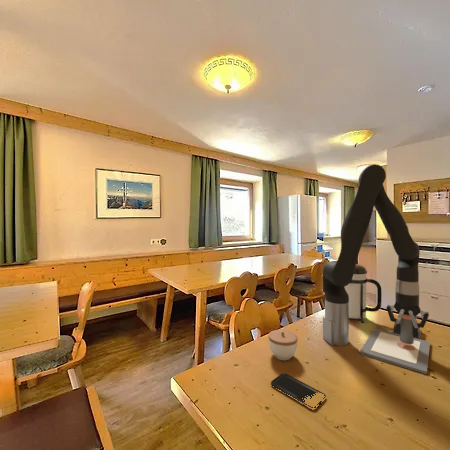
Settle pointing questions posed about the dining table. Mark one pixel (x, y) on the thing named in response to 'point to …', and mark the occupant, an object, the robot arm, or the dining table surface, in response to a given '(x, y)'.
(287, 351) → the lidded jar
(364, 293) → the coffee press
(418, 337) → the button housing
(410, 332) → the grey cylindrical piece
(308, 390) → the phone
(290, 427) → the dining table surface
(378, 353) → the drawing board
